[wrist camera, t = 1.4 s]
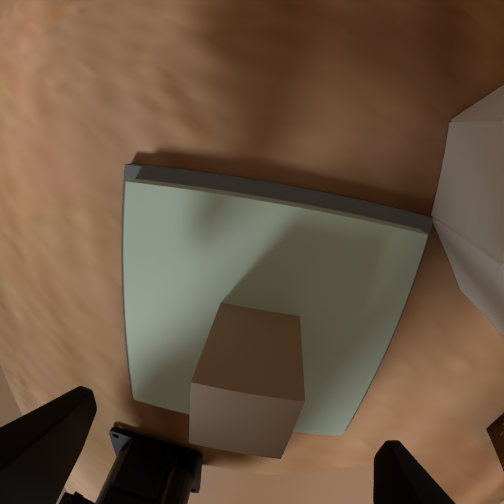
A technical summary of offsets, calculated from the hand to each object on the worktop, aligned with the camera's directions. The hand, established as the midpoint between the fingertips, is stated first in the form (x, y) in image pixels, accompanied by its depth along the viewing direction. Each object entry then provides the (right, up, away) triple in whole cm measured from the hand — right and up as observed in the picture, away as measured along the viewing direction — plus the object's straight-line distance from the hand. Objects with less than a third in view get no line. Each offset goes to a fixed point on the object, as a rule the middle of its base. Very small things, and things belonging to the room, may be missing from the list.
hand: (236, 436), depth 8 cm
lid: (+1, +2, +5) cm, 6 cm away
